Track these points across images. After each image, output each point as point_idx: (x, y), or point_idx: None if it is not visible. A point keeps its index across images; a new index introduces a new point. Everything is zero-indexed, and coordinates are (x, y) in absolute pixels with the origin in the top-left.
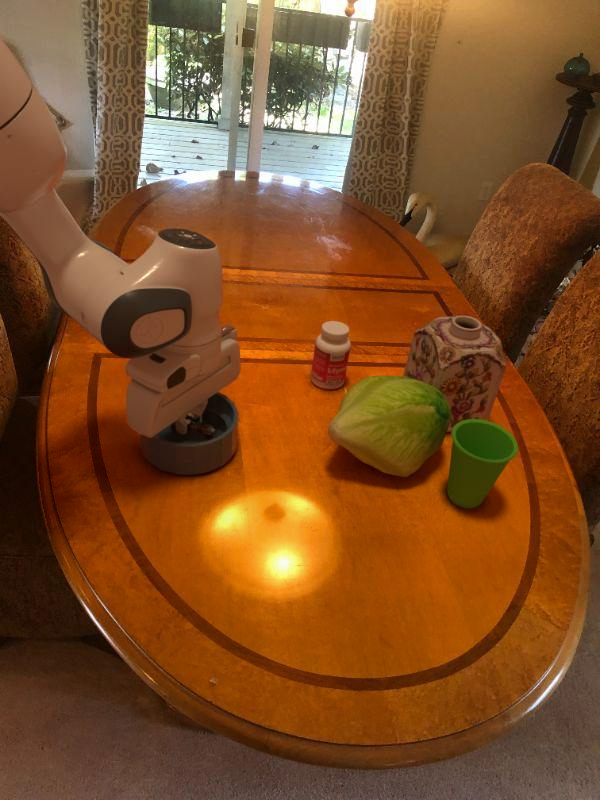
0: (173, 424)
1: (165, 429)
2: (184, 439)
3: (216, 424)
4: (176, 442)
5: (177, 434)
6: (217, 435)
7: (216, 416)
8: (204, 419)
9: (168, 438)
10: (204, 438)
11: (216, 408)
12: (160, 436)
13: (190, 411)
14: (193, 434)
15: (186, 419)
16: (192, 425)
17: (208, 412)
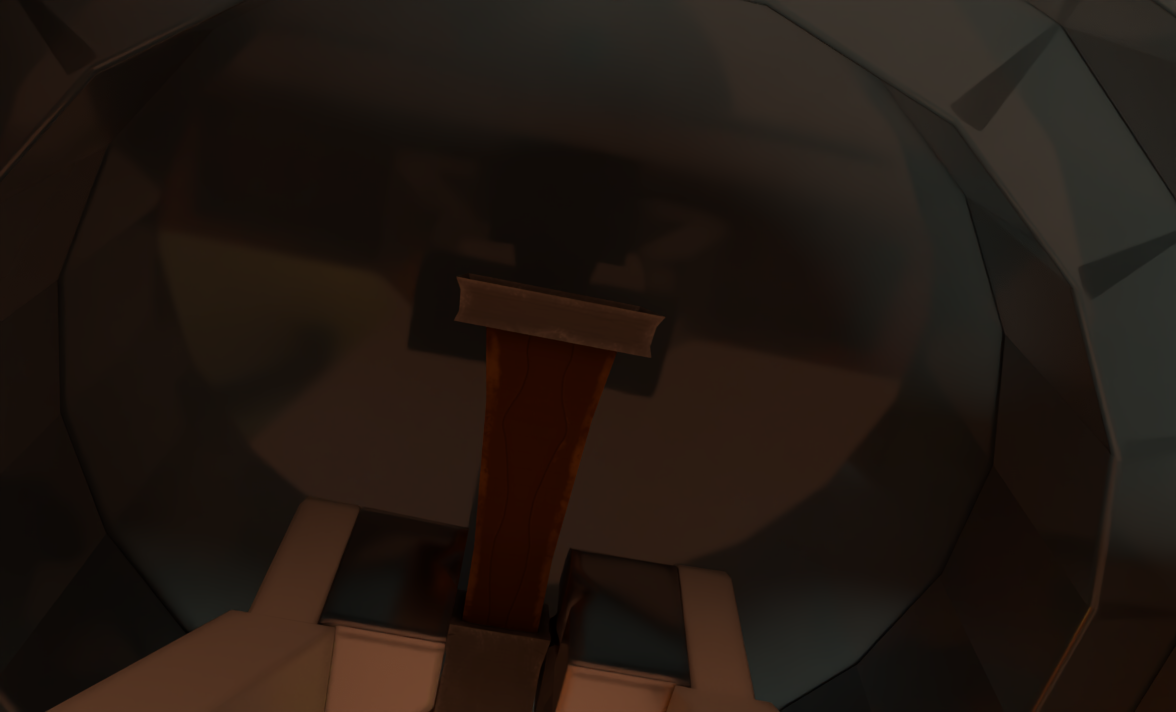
0: (486, 329)
1: (608, 33)
2: None
3: (952, 583)
4: (444, 308)
5: (593, 240)
6: (787, 632)
7: (1000, 671)
8: (1008, 422)
9: (454, 179)
10: (678, 541)
11: (1130, 688)
12: (433, 53)
13: (669, 698)
14: (689, 409)
15: (953, 187)
16: (511, 676)
17: (1058, 557)
